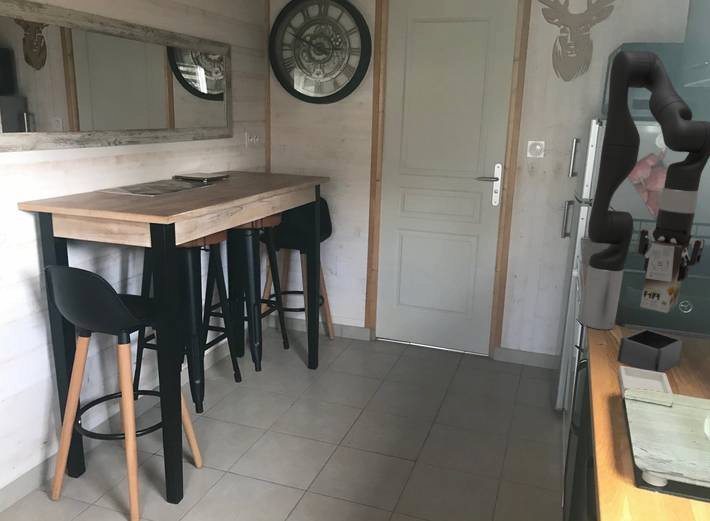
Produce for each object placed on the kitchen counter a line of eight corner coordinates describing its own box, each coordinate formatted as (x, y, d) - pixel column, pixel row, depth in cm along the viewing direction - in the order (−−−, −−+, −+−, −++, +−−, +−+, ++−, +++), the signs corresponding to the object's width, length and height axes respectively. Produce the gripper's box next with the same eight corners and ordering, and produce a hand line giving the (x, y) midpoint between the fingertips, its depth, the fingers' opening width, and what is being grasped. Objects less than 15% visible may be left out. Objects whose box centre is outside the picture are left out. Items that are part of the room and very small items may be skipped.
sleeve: (617, 361, 150) (621, 338, 148) (641, 350, 158) (645, 328, 156) (656, 375, 143) (660, 351, 141) (679, 363, 150) (683, 340, 149)
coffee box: (668, 314, 141) (681, 247, 137) (639, 307, 145) (651, 242, 141) (677, 305, 148) (690, 241, 144) (649, 298, 152) (661, 236, 148)
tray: (618, 375, 141) (620, 365, 141) (663, 383, 138) (665, 373, 138) (622, 398, 130) (624, 387, 129) (671, 407, 127) (673, 396, 126)
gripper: (716, 212, 138) (702, 282, 142) (653, 202, 148) (641, 267, 152) (703, 215, 133) (688, 287, 137) (638, 204, 143) (627, 271, 148)
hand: (664, 276), depth 145 cm, fingers closed on coffee box, 7 cm apart
